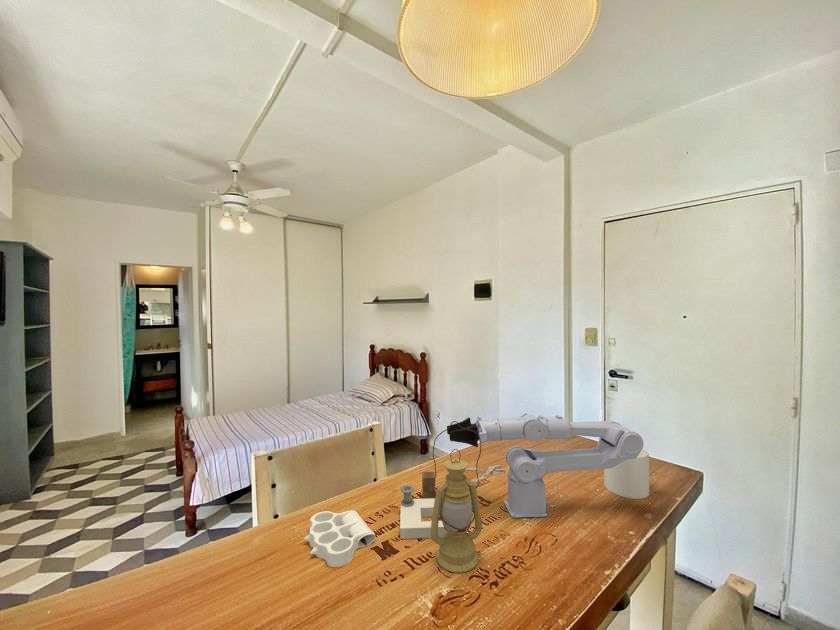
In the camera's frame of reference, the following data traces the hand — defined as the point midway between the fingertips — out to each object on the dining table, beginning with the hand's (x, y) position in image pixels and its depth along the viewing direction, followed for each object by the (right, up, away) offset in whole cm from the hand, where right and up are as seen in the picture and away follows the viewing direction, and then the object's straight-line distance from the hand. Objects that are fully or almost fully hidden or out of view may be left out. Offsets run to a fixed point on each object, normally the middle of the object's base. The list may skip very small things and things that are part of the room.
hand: (448, 433), depth 94 cm
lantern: (0, -21, -18) cm, 28 cm away
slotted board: (-7, -21, -5) cm, 23 cm away
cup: (+55, -21, +11) cm, 59 cm away
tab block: (-5, -21, +6) cm, 23 cm away
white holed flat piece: (-28, -22, -11) cm, 37 cm away
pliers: (+13, -22, +22) cm, 34 cm away
